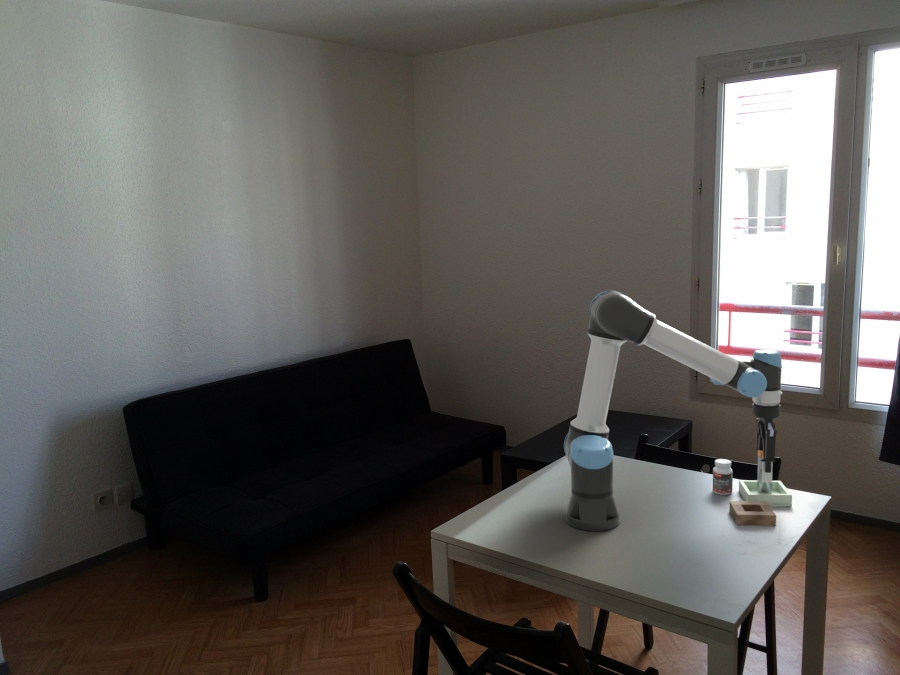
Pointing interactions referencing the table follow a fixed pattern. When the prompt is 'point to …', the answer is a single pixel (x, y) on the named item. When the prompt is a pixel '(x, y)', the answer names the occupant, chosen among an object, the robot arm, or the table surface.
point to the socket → (752, 513)
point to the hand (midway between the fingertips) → (764, 479)
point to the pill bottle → (722, 477)
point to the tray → (777, 497)
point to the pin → (761, 486)
